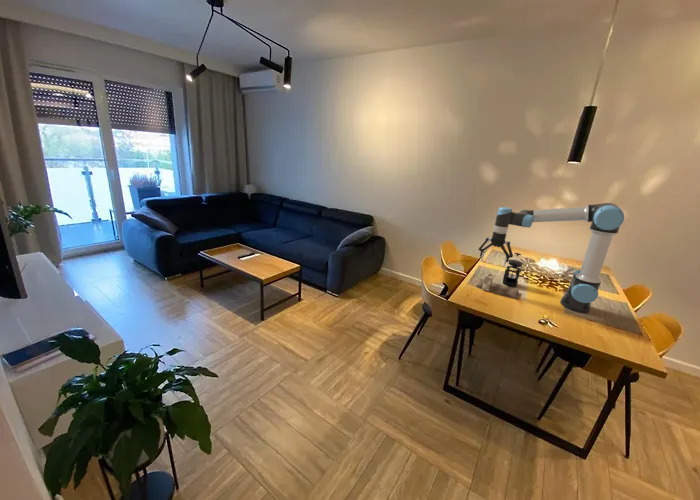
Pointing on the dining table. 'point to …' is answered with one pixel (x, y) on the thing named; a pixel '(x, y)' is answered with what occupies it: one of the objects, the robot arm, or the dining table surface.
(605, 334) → the dining table surface
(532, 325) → the dining table surface
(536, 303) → the dining table surface
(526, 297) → the dining table surface
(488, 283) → the block
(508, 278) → the french press
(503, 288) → the board
